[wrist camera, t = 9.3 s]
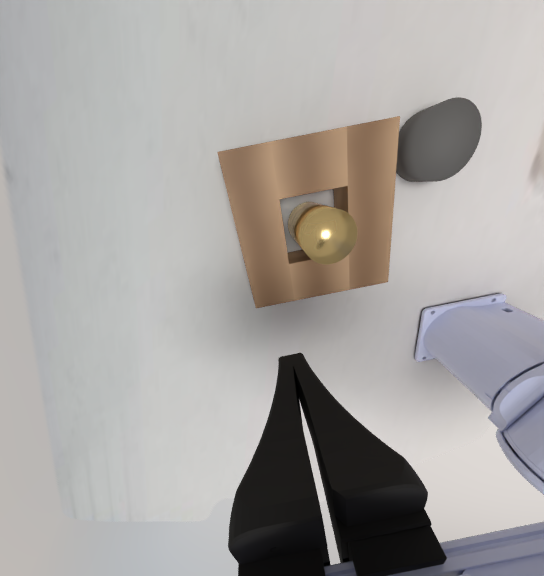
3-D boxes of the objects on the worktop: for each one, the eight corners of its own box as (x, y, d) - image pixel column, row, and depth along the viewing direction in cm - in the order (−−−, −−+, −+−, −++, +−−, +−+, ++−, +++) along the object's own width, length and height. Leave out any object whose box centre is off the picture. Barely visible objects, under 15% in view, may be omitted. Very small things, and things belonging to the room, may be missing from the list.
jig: (375, 127, 17) (400, 116, 14) (371, 269, 22) (388, 281, 19) (222, 157, 17) (217, 151, 14) (255, 292, 22) (255, 308, 19)
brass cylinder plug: (325, 197, 19) (356, 202, 13) (329, 238, 20) (358, 257, 15) (284, 207, 19) (298, 216, 13) (291, 247, 20) (307, 270, 15)
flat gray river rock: (457, 102, 17) (489, 90, 14) (446, 174, 19) (472, 173, 17) (393, 116, 17) (415, 106, 14) (389, 187, 19) (408, 187, 17)
